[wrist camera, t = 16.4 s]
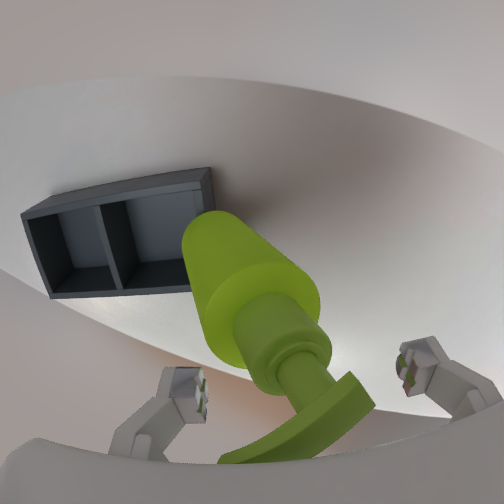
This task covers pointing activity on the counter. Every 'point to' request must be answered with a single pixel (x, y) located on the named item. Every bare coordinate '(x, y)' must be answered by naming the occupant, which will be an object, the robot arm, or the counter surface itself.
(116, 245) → the storage box
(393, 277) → the counter surface
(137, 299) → the counter surface
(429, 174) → the counter surface
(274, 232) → the counter surface
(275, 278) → the soap dispenser
